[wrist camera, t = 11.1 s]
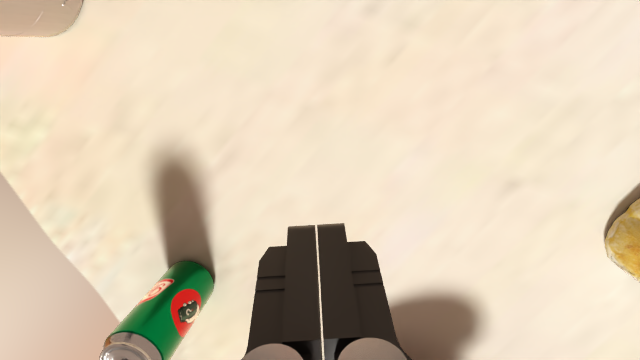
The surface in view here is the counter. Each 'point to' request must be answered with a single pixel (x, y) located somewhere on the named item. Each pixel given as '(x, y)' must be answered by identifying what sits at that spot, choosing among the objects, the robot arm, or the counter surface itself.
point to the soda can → (161, 316)
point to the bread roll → (626, 241)
